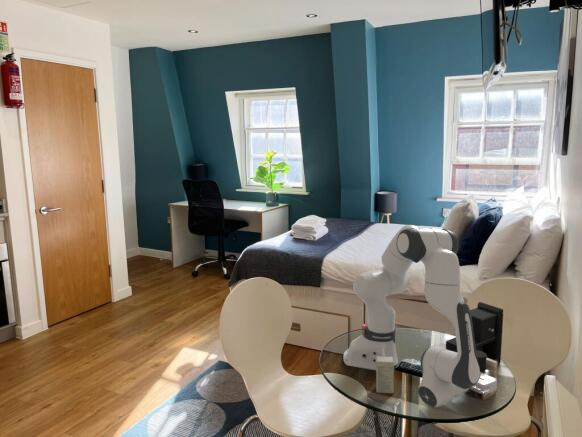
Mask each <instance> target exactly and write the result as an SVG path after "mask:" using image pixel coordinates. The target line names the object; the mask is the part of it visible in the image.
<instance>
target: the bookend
mask: <svg viewBox="0 0 582 437" xmlns="http://www.w3.org/2000/svg"><path fill="white" fill-rule="evenodd" d="M470 312H471V318H472V325H473V333H474V340H475V348H476V350H478V351H482V352H484V353H486V354H487V358H489V359H492V360H494V361H497V362H498V364H497V366H498V365H500V364H501V360H502V346H503V345H502V344H503V343H502V342H503V328H504V327H503V326H504V325H503V323H504V309H503V308H501V307H500V308H499V307H497V306H494V305H491V304H488V303H486V302H485V303H484V302H481V301H479V302H478V303H477V307H475V308H473V309H470ZM445 349H447V350H450V351H453V352H457V353H458V351H457V342H456V336H455V337H453V338H450V339H448V340H446V341H445Z"/></svg>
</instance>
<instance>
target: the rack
mask: <svg viewBox="0 0 582 437" xmlns="http://www.w3.org/2000/svg"><path fill="white" fill-rule="evenodd" d="M497 364H498V362H497V361H494V360H492V359H489V358H486V370H488V371H490V375H489V376H491V377H494V378H496V379H497V380H498V365H499V364H498V365H497ZM496 392H497V389H496V390H495V391H493V392H490V393H488V394H483V397H482V398H481V399H482V401H486V400H488V399H489V398H491V397H492V396H493V395H495V394H496Z"/></svg>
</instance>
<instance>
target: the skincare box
mask: <svg viewBox="0 0 582 437" xmlns="http://www.w3.org/2000/svg"><path fill="white" fill-rule="evenodd" d="M394 375H395V374H394V366H393V357H384V356H376V370H375V377H376V378H375V379H376V380H375V381H376V382H375V384H376V385H375V386H376V393H379V394H394V379H395V378H394Z"/></svg>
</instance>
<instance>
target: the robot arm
mask: <svg viewBox="0 0 582 437" xmlns="http://www.w3.org/2000/svg"><path fill="white" fill-rule="evenodd" d="M459 247H460V242H459V238H458V236H457V234H456V233H455V232H453V231H451V230H448V229H446V228H445V229H444V228H442V229H440V228H434V227H421V228H420V227H419V226H416V225H414V224H405V225H404V226H402V227H401V228H400V229H399V230H398V231H397V232H396V234H395V235H394V236H393V237H392V239H391V240H390V242H388V245H387V247H386V249H385V250H384V251H383V254H382V255H381V263H382V266H383V267H381V268H379V269H378V268H377V269H374V270H368V271H364V272H362V273H360V274H357V275H356V276H355V277H354V279H353V284H352V287H353V291H354V293H355V295H356V296H357V297H358V298H359V299H360V300H362V301H363V303H364V304H365V308H366V314H367V316H366V317H367V325H366V324H365V323H363V324H362V325H361V329H362V330H361V331H362V332H361V333H362V334H361V335H359V336H358V337H356V338H355V339H352V341H351V342H350V344H349V347H348V348H347V349H346V350H345V351H344V353H343V356H342V357H343V358H342V359H343V362H344V364H345V365H346V366H348V367H354V368H360V369H366V370H371V371H376V356H384V357H393V367H395V366H396V365H398V363H399V359H398V355H397V349H396V342H397V329H396V311H395V309H394V308H393V307H392V305H390V304H388V303H387V301H386V298H387V296H391V295H396V294H398V293H402V292H403V291H405V290H407V289H408V288H409V286H410V283H411V278H410V277H411V276H410V274H409V272H408V271H409V269H410V268H411V266H412V264H413V263H415V264H417V263H419V262H422V263H423V265H424V268H425V271H424V272H425V274H424V296H425V300H426V302H427V303H428V304H429V305H430V306H431V308H433V309H434V310H436V311H437V312H438V313H440V314H442V315H443V316H444V317H446V318H447V319H448V320H449V321H450V323H451V324H452V325H453V327H454V331H455V332H454V334H455V337H456V342H457V351H458V353H457V352H453V351H450V350H447V349H446V348H442V347H438V346H436V345H432V346H429V347H428V348H427V349H425V351H424V352H422V354H421V356H420V357H421V358H420V369H421V372H422V379H421V382H420V384H419V385H418V389H417V393H418V396H419V398H420V399H421V401H422V402H423V403H424V404H426V405H427V406H429V407H431V408H439V407H442V406H444V405H447V404H448V403H450V402H452V400H454V398H458V397H460V396H462V395H463V394H466V392H467V391H468V390H469V388H470V389H472V390H474V391H476V392H478V393H481V394H488V393H490V392H493V391H495V390H496V391H497V389H498V378H497V379H496V378H494V377H491V376H489V375H490V371H488V370H486V369H485V370H484V371H483V373H482V372H480V366H479V362H478V359H477V355H476V348H475V340H474V333H473V325H472V318H471V312H470V310H471V309H470V306H469V305H468V304H467V303H466V302H465V300H464V298H463V295H462V292H461V269H460V261H459V257H458V255H457V253H458V251H459Z"/></svg>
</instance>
